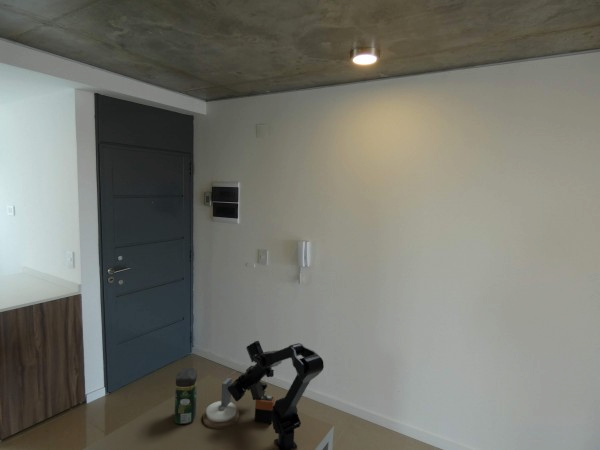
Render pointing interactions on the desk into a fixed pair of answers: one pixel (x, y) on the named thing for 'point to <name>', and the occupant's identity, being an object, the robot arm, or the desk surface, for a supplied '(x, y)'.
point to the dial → (222, 406)
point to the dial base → (220, 424)
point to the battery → (264, 409)
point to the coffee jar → (185, 396)
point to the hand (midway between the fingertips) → (231, 393)
